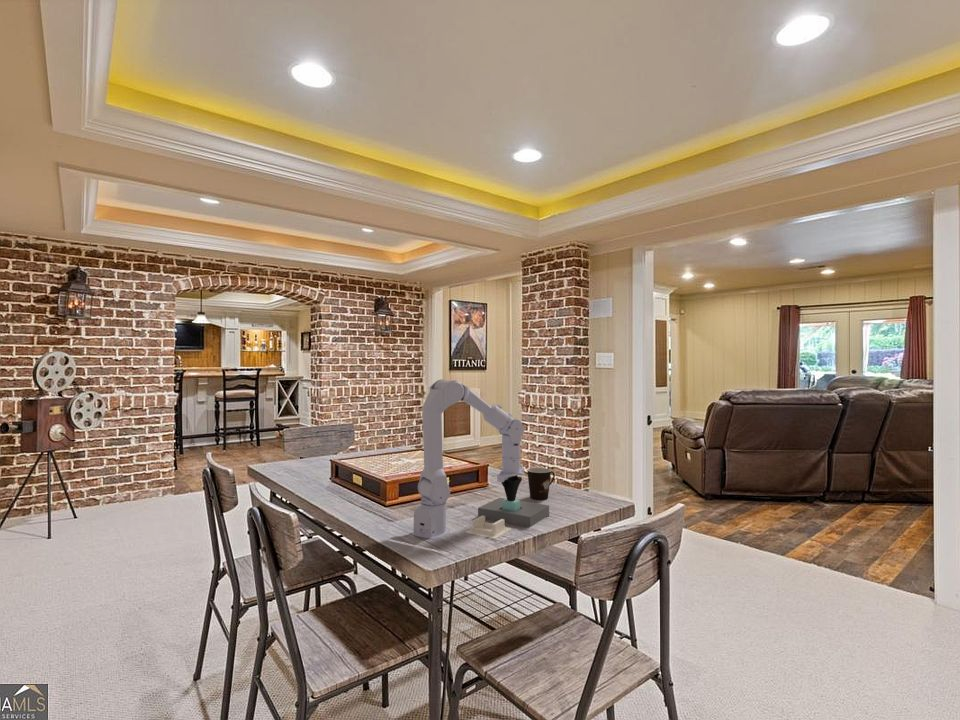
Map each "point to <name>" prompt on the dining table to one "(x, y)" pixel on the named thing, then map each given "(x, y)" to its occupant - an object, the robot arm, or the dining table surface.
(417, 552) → the dining table surface
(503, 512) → the block
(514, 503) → the plug
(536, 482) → the coffee mug
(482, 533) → the beige square holder
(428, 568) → the dining table surface
